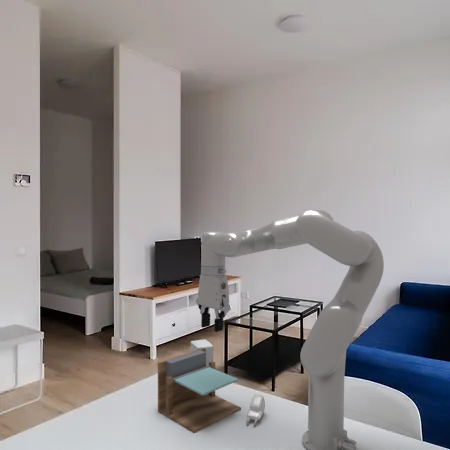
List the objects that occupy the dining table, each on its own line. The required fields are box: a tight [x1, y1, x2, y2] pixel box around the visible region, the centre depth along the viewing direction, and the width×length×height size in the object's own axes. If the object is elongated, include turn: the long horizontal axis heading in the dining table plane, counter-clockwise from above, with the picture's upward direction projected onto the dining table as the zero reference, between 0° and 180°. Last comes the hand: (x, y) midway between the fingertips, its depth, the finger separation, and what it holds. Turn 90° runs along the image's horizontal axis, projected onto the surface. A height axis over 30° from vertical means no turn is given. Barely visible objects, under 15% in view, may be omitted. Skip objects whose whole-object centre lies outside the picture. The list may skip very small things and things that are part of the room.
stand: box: [157, 348, 242, 434], centre depth 130 cm, size 18×20×16 cm
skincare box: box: [189, 338, 214, 366], centre depth 150 cm, size 8×7×16 cm
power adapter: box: [246, 393, 266, 427], centre depth 124 cm, size 10×4×5 cm, turn 157°
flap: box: [166, 350, 239, 395], centre depth 129 cm, size 18×16×6 cm
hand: (212, 328), depth 126 cm, fingers open, 5 cm apart
